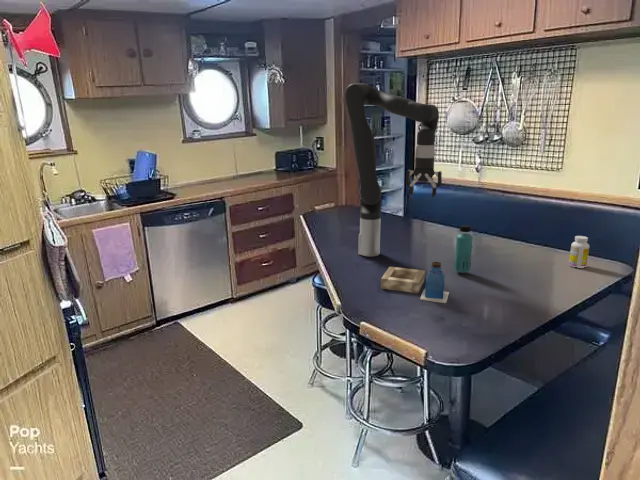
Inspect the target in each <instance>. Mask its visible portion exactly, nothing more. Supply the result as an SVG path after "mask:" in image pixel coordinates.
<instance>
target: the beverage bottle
mask: <svg viewBox="0 0 640 480" xmlns="http://www.w3.org/2000/svg"><path fill="white" fill-rule="evenodd" d="M459 232H460V233H458V234H457V235H456V241H455V242H456V243H455V252H454V263H453V268H454V271H456V272H459V273H468V272H470V271H471V266H472V254H473V235H472V234H470V232H471V226H470V225H468V224H461V225H460V227H459Z"/></svg>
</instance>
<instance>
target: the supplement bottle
mask: <svg viewBox="0 0 640 480" xmlns="http://www.w3.org/2000/svg"><path fill="white" fill-rule="evenodd" d="M588 240H589V237H587V236H583V235H576V236H574V241H573V242H572V243H571V246H570V251H569V260H568V265H569V264H570V265H572V266H586V265H587V264H588V260H589V259H588V258H589V252H590V244H589V243H588ZM586 267H587V266H586Z"/></svg>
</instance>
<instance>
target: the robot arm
mask: <svg viewBox="0 0 640 480" xmlns="http://www.w3.org/2000/svg"><path fill="white" fill-rule="evenodd" d="M344 97H345V98H344V100H345V103H346V104H345V105H346V108H347V113H348V116H349V120H350V128H351V133H352V134H351V135H352V142H353V151H354V155H355V161H356V166H357V169H358V174H359V184H360V185H359V189H360V190H359V191H360V193H359V195H360V210H359V217H360V218H359V234H358V246H357V248H358V251H357V252H358V255H360V256H364V257H368V258H369V257H370V258H371V257H377V256H379V255H380V250H381V247H380V246H381V220H382V219H381V217H382V216H381V215H382V193H383V192H382V191H383V190H382V187H381V185H380V183H379V181H378V174H377V151H376V150H377V147H376V141H375V136H374V133H373V130H372V128H371V126H370V124H369V123H368V121H367V118H366V113H365V105H366V106H372V107H373V106H374V107H379V108H381V109H383V110H385V111H387V112H388V113H391V114H392V115H393V114H394V115H397V116H400V117H403V118H409V119H410V120H413V121H415V122H418V123H421V124H420V129H419V130H418V131H417V134H416V146H415V147H416V148H415V160H414V170H411V169H408V170H407V171H406V172H405V173H406V176H405V185H406V186H409V195H410V196H414V194H415V193H414V191H415V184H416V183H417V181H418V182H426V183H427V182H429V183H430V184H431V186H432V190H431V192H432V193H431V198H434V197H435V196H436V195H437V190H438V189H437V188H439V187H441V186H442V184H443V183H442V182H443V179H442V176H443V175H442V173H443V172H442V170H439V171H435V156H436V149H435V144H436V142H435V141H436V132H437V127H438V123H439V118H440V112H439V108H438V107H437V106H436V105H435V104H429V103H428V104H427V103H420V102H416V101H415V100H412V99H411V98H406V97H403V96H399V95H394V94H390V93H387V92H384V91H382V90H379V89H377V88H376V87H373V86H371V85H368V84H366V83H363V82H359V83H350V84H349V85H348V86H347V87H346V89H345V92H344ZM412 175H414V177H415V178H414V179H413V180H412V181H411V182H410V180H411V176H412ZM433 176H435V177H436V178H437V183H436V182H435V179H434V178H433Z"/></svg>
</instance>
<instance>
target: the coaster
mask: <svg viewBox="0 0 640 480" xmlns="http://www.w3.org/2000/svg"><path fill="white" fill-rule="evenodd" d="M425 290H426V288H424V289H423V291H422V293H421V296H420V297H419V300H421V301H425V302H426V301H428V302H435V303H442V304H447V302H448V298H449V295H450V292H449V291H444V294H443V299H436V298H427V297H425Z"/></svg>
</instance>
